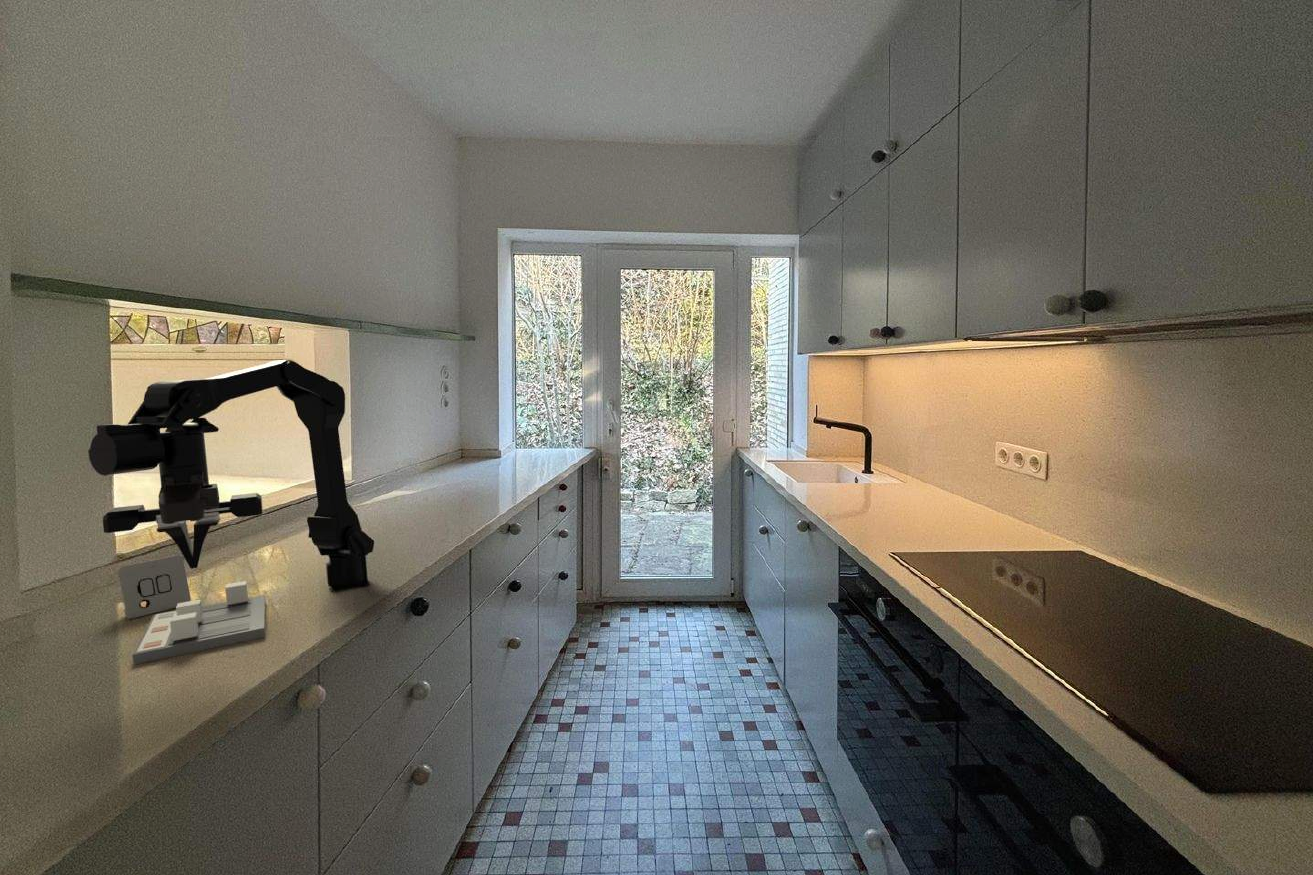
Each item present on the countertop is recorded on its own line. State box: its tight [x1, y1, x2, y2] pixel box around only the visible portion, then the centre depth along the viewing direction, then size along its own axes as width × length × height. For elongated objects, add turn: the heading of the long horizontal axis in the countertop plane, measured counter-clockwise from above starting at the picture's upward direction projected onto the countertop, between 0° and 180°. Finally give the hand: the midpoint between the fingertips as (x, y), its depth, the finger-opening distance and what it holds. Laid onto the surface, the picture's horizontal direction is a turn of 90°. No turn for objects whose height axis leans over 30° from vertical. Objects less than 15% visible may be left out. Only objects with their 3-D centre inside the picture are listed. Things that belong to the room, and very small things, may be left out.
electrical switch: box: [116, 554, 192, 620], centre depth 113 cm, size 9×5×9 cm, turn 141°
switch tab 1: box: [175, 599, 203, 622], centre depth 101 cm, size 3×2×3 cm
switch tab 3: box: [224, 580, 249, 605], centre depth 110 cm, size 3×2×3 cm
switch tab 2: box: [170, 612, 199, 641], centre depth 95 cm, size 3×2×3 cm
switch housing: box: [132, 594, 267, 665], centre depth 102 cm, size 16×19×2 cm
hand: (194, 567), depth 95 cm, fingers closed
